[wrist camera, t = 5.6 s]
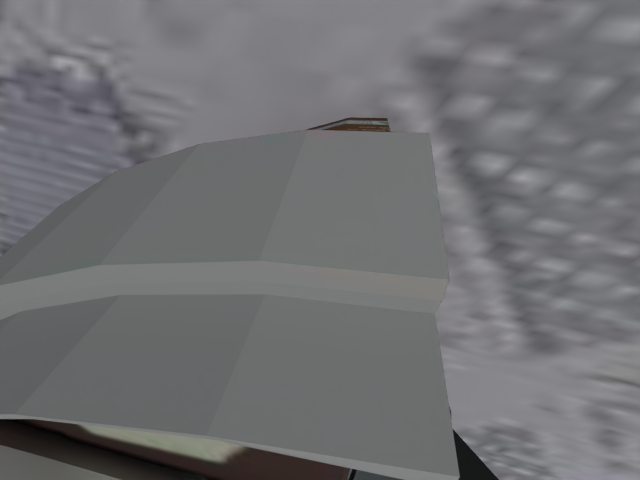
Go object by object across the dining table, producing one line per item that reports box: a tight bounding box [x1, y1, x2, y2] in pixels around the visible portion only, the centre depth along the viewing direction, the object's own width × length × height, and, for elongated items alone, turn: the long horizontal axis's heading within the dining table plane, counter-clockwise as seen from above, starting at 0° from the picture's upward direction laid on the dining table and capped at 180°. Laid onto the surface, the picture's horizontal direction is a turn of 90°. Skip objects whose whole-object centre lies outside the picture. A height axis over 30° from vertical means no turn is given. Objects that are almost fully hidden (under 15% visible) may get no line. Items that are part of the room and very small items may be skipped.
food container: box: [0, 118, 460, 480], centre depth 9 cm, size 12×6×10 cm, turn 176°
